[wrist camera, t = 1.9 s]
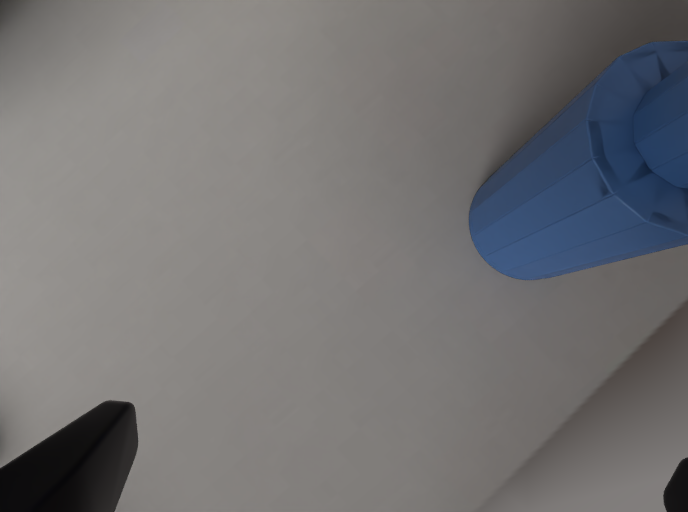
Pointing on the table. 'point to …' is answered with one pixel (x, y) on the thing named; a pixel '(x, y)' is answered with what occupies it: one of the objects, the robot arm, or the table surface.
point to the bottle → (595, 174)
